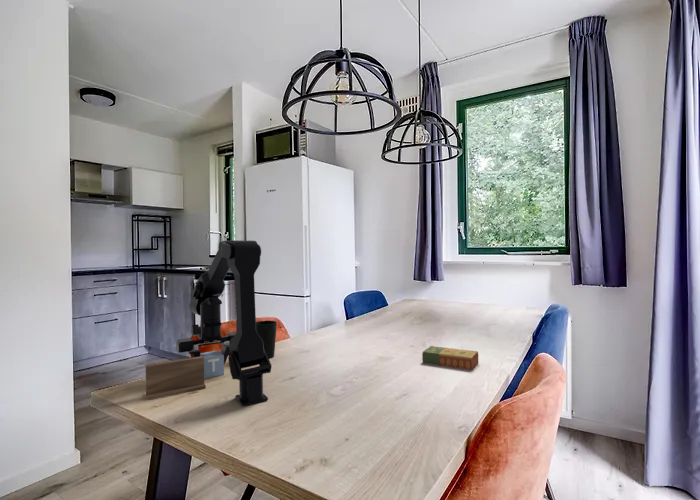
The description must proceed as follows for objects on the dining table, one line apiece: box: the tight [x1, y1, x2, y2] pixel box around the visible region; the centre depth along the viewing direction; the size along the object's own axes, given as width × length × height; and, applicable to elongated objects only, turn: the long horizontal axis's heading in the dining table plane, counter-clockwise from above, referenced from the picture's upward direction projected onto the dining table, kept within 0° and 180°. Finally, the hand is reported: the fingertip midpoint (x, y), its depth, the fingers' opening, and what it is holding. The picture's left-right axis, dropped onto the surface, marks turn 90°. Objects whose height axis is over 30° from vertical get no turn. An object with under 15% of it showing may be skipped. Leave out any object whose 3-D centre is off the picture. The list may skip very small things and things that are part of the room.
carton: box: [421, 345, 479, 371], centre depth 122 cm, size 8×16×4 cm, turn 59°
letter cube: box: [200, 350, 225, 380], centre depth 114 cm, size 6×6×6 cm
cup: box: [256, 320, 278, 360], centre depth 132 cm, size 8×8×12 cm
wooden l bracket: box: [145, 356, 207, 401], centre depth 101 cm, size 5×14×8 cm, turn 122°
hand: (211, 369), depth 114 cm, fingers closed on letter cube, 6 cm apart
